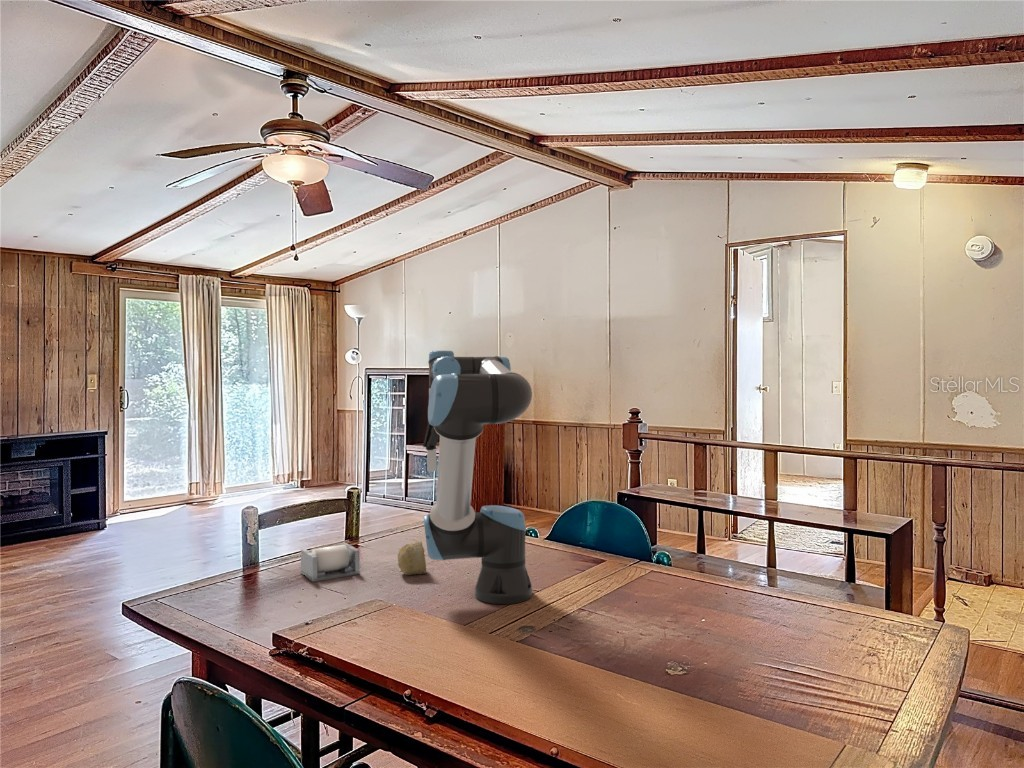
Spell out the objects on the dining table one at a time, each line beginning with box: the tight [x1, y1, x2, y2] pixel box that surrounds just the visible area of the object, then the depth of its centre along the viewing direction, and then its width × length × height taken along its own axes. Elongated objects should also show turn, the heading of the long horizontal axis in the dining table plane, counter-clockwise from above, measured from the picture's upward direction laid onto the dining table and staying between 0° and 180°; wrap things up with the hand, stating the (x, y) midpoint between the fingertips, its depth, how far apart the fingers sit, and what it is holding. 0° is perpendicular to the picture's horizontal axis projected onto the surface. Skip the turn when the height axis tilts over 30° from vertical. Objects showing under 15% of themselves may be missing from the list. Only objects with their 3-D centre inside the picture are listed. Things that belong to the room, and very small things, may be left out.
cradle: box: [300, 542, 361, 583], centre depth 208 cm, size 14×11×7 cm
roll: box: [311, 544, 349, 572], centre depth 208 cm, size 9×7×7 cm
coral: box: [397, 540, 428, 576], centre depth 207 cm, size 10×10×10 cm
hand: (442, 474), depth 210 cm, fingers open, 13 cm apart
